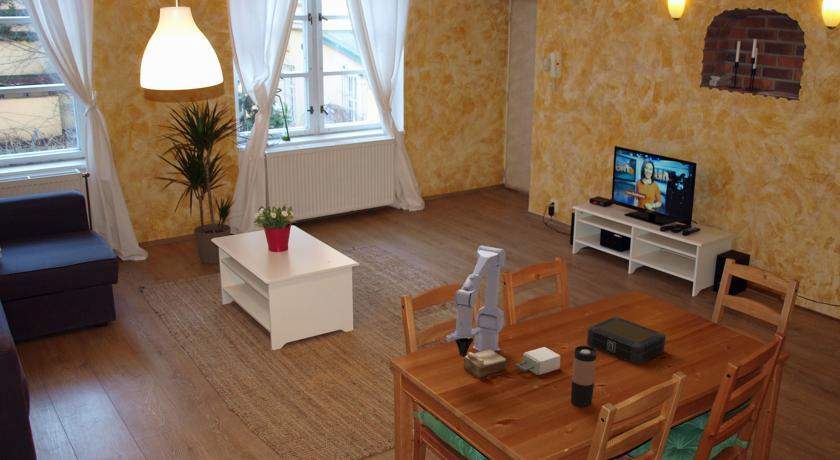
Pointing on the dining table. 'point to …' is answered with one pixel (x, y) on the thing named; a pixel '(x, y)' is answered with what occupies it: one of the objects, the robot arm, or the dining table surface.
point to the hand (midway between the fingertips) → (462, 355)
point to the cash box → (626, 340)
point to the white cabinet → (545, 359)
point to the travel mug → (583, 376)
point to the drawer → (529, 364)
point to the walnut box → (485, 370)
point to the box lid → (484, 358)
